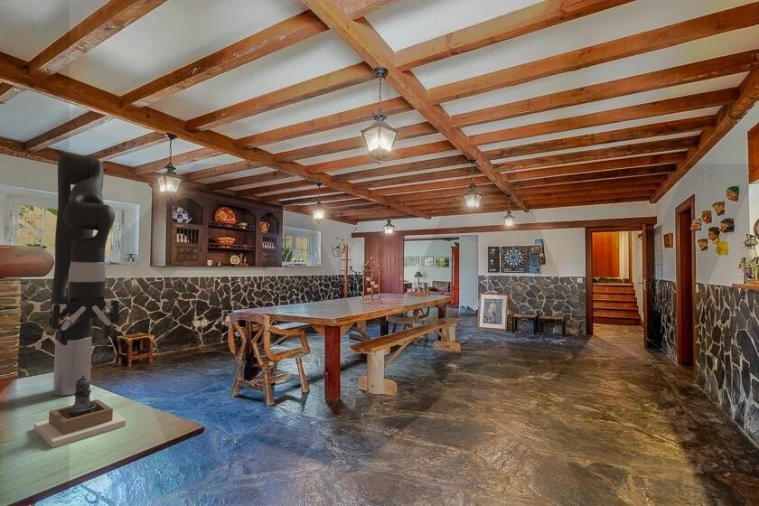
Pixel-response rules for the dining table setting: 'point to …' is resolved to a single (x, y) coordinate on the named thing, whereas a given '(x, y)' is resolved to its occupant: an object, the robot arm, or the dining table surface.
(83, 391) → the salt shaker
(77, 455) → the dining table surface
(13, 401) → the dining table surface
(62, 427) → the shaker stand
